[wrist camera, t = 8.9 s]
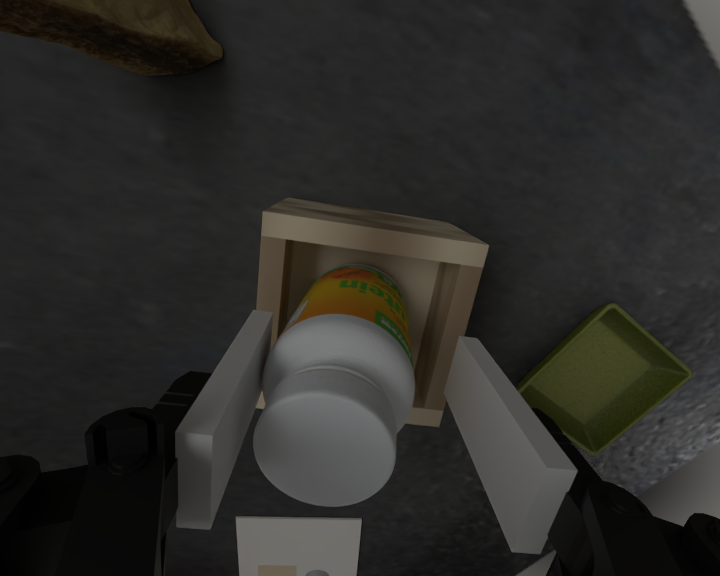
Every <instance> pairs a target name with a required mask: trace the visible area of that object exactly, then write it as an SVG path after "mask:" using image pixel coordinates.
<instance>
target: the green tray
mask: <svg viewBox="0 0 720 576" xmlns="http://www.w3.org/2000/svg"><path fill="white" fill-rule="evenodd" d="M692 376H693V373H692V371H691V370H690V369H689V368H688V367H687V366H686V365H685V364H684V363H682V362H681V361H680V360H679V359H678V358H677V357H676V356H674V355H673V354H672V353H671V352H670V351H669V350H668V349H666V348H665V347H664V346H663V345H662V344H661V343H660V342H658V341H657V340H656V339H655V338H654V337H653V336H651V335H650V334H649V333H648V332H647V331H646V330H645V329H644V328H643V327H641V326H640V325H639V324H638V323H637V322H636V321H635V320H634V319H633V318H632V317H631V316H629V315H628V314H627V313H626V312H625V311H624V310H623V309H622V308H621V307H619V306H618V305H617V304H615V303H611V304H608V305H605V306H602V307H600V308H598V309H597V310H595V311H594V312H592V313H591V314H590V315H589V316H588V317H587V318H586V319H585V320H584V321H582V322H581V323H580V324H579V325H578V326H577V327H576V328H575V329H574V330H573V331H572V332H571V333H570V334H569V335H568V336H567V337H566V338H565V339H564V340H562V341H561V342H560V343H559V344H558V345H557V346H556V347H555V348H554V349H553V350H552V351H551V352H550V353H549V354H548V355H547V356H546V357H545V358H544V359H543V360H542V361H540V362H539V363H538V364H537V365H536V366H535V367H534V368H533V369H532V370H531V371H530V372H529V373H528V374H527V375H526V376H525V377H524V378H523V379H522V380H521V381H520V382H519V384H518V385H517V387H516V390H517V391H518V392H519V394H520V395H521V396H522V398H523V399H524V400H525V402H526V403H527V404H528V406H529V407H530V408H538V409H540V410H541V411H542V412H544V413H545V414H546V415H547V416H549V417H550V418H551V419H553V420H554V422H555V423H556V424H557V425H558V427H559V428H560V429H561V430H562V432H563V435H566V436H567V438H568V439H569V440H571V441H572V442H573V443H575V444H576V445H577V446H579V447H580V448H582V449H583V450H584V451H586V452H587V453H589V454H590V455H594V454H598V453H600V452H601V451H603V450H604V449H605V448H606V447H608V446H609V445H610V444H611V443H612V442H614V441H615V440H616V439H617V438H619V437H620V436H621V435H622V434H623V433H624V432H626V431H627V430H628V429H629V428H631V427H632V426H633V425H634V424H635V423H637V422H638V421H639V420H640V419H642V418H643V417H644V416H645V415H646V414H648V413H649V412H650V411H651V410H652V409H654V408H655V407H656V406H657V405H659V404H660V403H661V402H662V401H664V400H665V399H666V398H667V397H668V396H670V395H671V394H672V393H673V392H675V391H676V390H677V389H678V388H679V387H681V386H682V385H683V384H684V383H685V382H686V381H688V380H689V379H690V378H691V377H692Z"/></svg>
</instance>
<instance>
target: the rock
mask: <svg viewBox="0 0 720 576" xmlns="http://www.w3.org/2000/svg"><path fill="white" fill-rule="evenodd" d="M0 31H3V32H7V33H11V34H16V35H20V36H24V37H30V38H39V39H43V40H46V41H49V42H54V43H59V44H64V45H67V46H70V47H72V48H74V49H75V50H77V51H79V52H81V53H84V54H86V55H88V56H90V57H93V58H96V59H99V60H101V61H104V62H106V63H108V64H111V65H113V66H115V67H118V68H121V69H124V70H128V71H132V72H134V73H137V74H141V75H146V76H151V75H172V74H179V73H190V72H194V71H196V70H199V69H201V68H204V67H205V66H206V65H208V64H210V63H211V62H213V61H216V60H219V59H221V58H222V56H223V49H222V47H221V45H220V44H219V43H217V42H216V41H215V40H213V39H212V38H211V36H210V35H209V34H208V32H207V31H206V29H205V27H204V26H203V24H202V22H201V21H200V19H199V17H198V16H197V15H196V13H195V12H194V11H193V9H192V7H191V5H190V3H189V0H0Z"/></svg>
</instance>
